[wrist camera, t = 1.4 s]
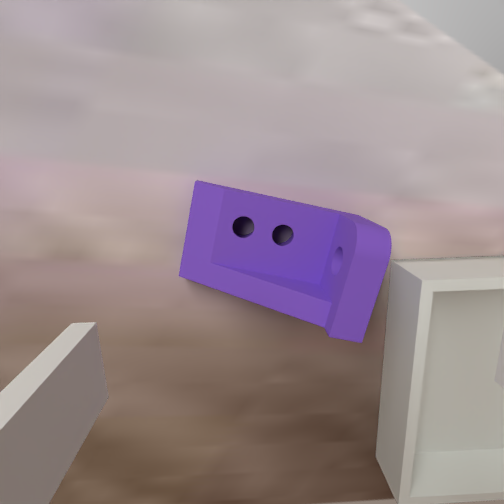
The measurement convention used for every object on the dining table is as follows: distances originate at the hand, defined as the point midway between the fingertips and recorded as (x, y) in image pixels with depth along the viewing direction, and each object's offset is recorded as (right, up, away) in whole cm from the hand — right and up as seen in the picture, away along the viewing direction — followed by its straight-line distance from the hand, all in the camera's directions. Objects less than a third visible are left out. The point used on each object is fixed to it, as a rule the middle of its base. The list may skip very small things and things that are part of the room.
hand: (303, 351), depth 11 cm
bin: (+19, -6, +18) cm, 26 cm away
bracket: (0, +4, +15) cm, 16 cm away
